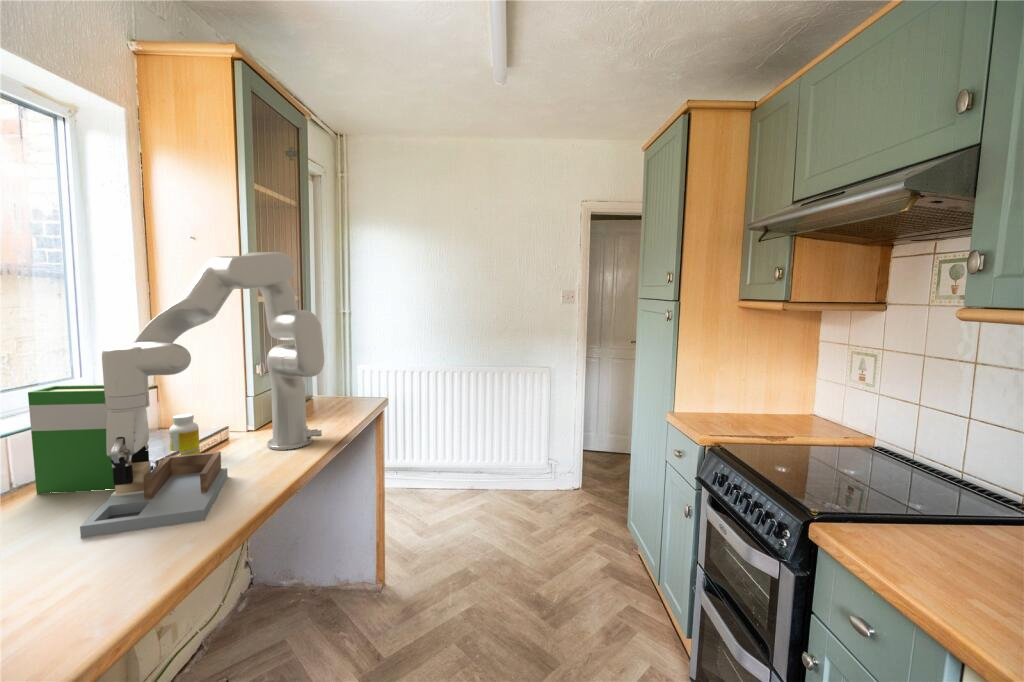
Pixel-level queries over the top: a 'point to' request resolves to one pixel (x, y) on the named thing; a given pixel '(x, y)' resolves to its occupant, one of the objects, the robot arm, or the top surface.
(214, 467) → the brown wooden u-shaped frame
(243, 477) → the top surface
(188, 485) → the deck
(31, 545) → the top surface
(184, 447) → the supplement bottle
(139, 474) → the block
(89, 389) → the hardback book
